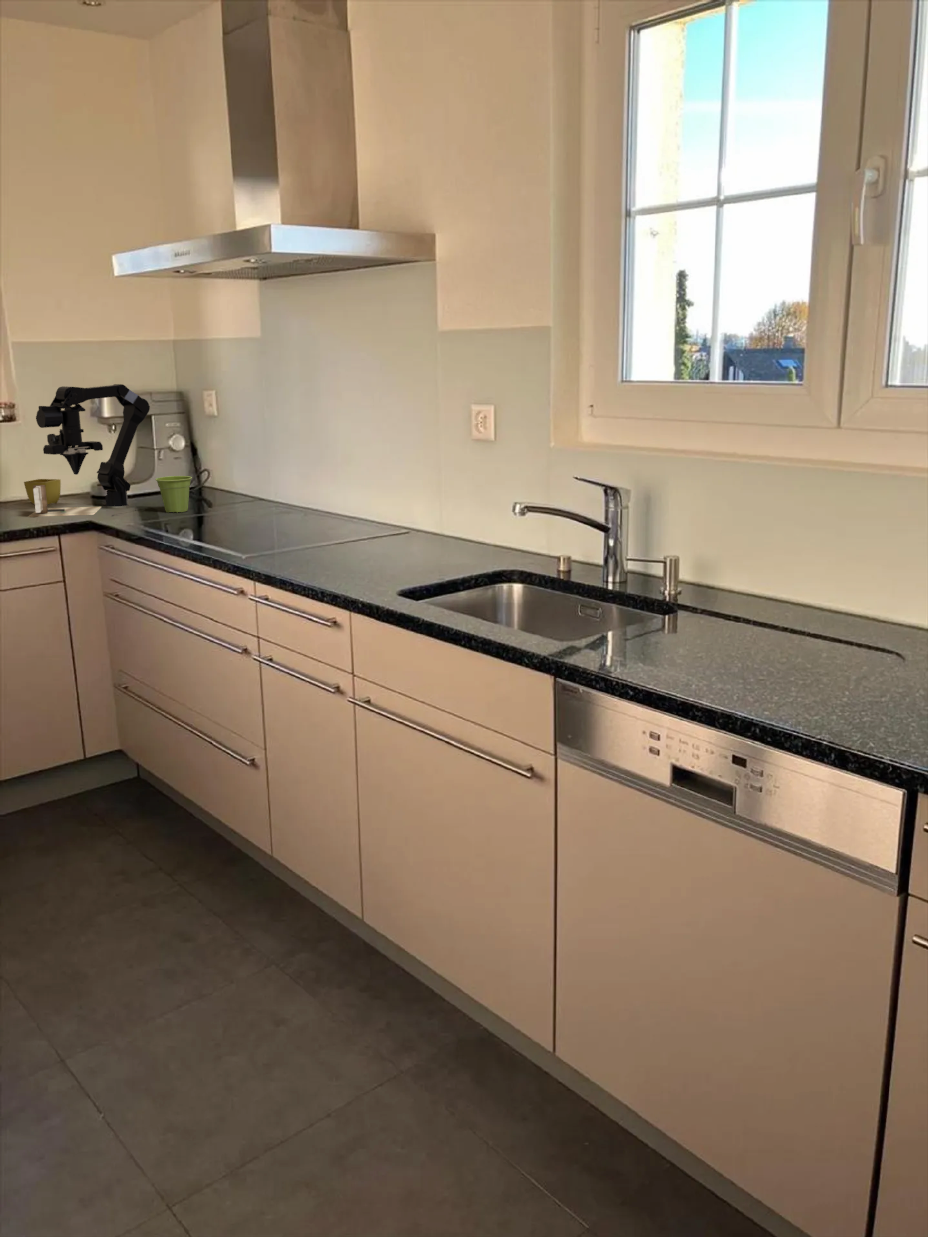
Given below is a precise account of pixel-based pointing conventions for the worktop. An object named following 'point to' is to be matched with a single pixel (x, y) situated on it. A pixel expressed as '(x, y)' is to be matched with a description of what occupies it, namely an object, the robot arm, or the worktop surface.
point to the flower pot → (51, 489)
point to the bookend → (42, 500)
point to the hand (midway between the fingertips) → (76, 474)
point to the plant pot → (175, 492)
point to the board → (69, 511)
